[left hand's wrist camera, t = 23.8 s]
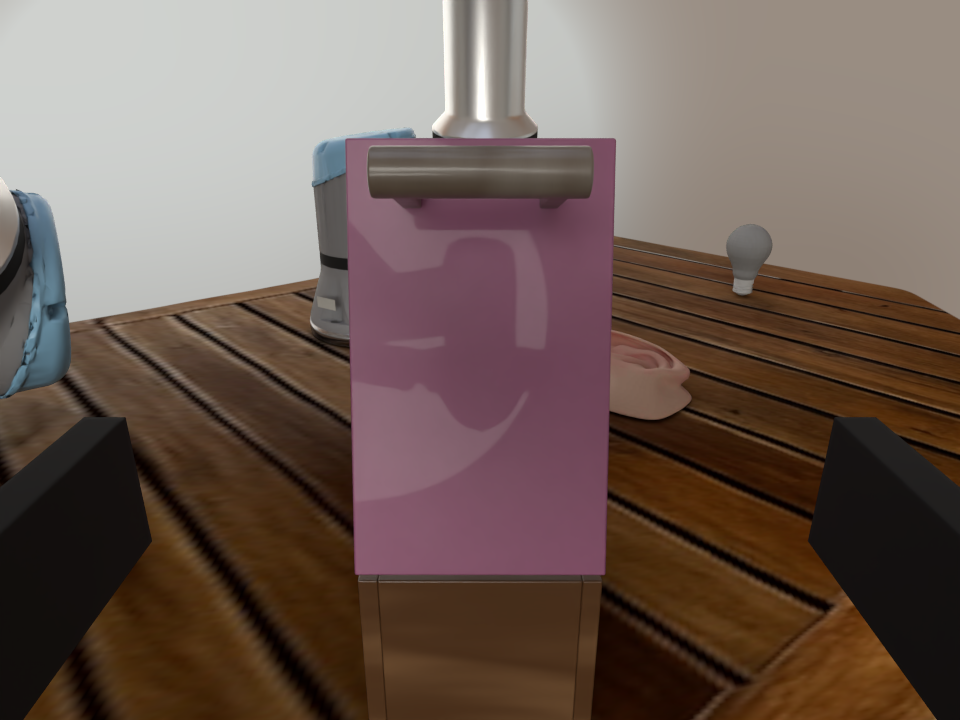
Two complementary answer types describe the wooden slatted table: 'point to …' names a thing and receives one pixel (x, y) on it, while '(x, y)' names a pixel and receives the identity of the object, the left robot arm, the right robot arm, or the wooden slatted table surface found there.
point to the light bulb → (747, 255)
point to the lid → (480, 353)
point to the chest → (479, 646)
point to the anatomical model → (645, 379)
